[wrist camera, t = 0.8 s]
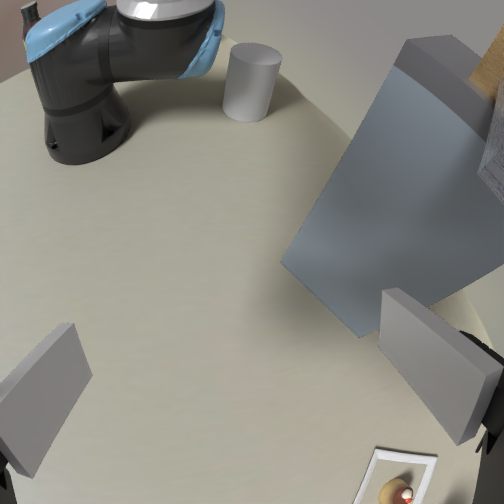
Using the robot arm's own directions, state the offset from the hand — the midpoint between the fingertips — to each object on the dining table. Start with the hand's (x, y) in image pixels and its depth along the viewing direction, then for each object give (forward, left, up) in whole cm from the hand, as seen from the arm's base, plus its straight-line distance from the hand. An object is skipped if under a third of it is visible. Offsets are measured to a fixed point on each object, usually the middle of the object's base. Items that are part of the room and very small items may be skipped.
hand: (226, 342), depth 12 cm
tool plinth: (-9, +22, -22) cm, 33 cm away
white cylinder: (-41, +15, -22) cm, 49 cm away
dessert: (+24, +17, -23) cm, 37 cm away
